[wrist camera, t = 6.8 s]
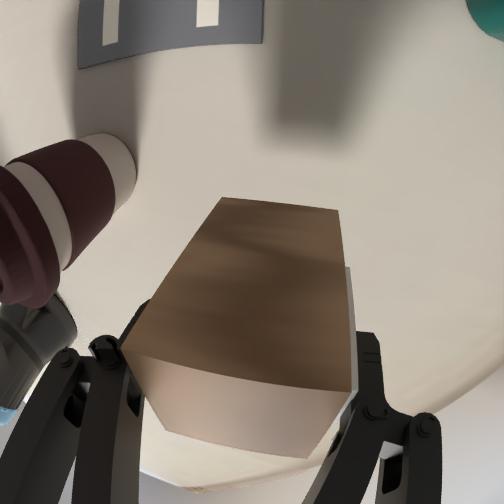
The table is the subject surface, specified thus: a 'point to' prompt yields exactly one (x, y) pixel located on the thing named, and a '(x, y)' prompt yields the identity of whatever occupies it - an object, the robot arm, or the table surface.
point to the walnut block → (250, 330)
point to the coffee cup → (57, 211)
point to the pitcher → (488, 16)
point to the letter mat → (162, 26)
